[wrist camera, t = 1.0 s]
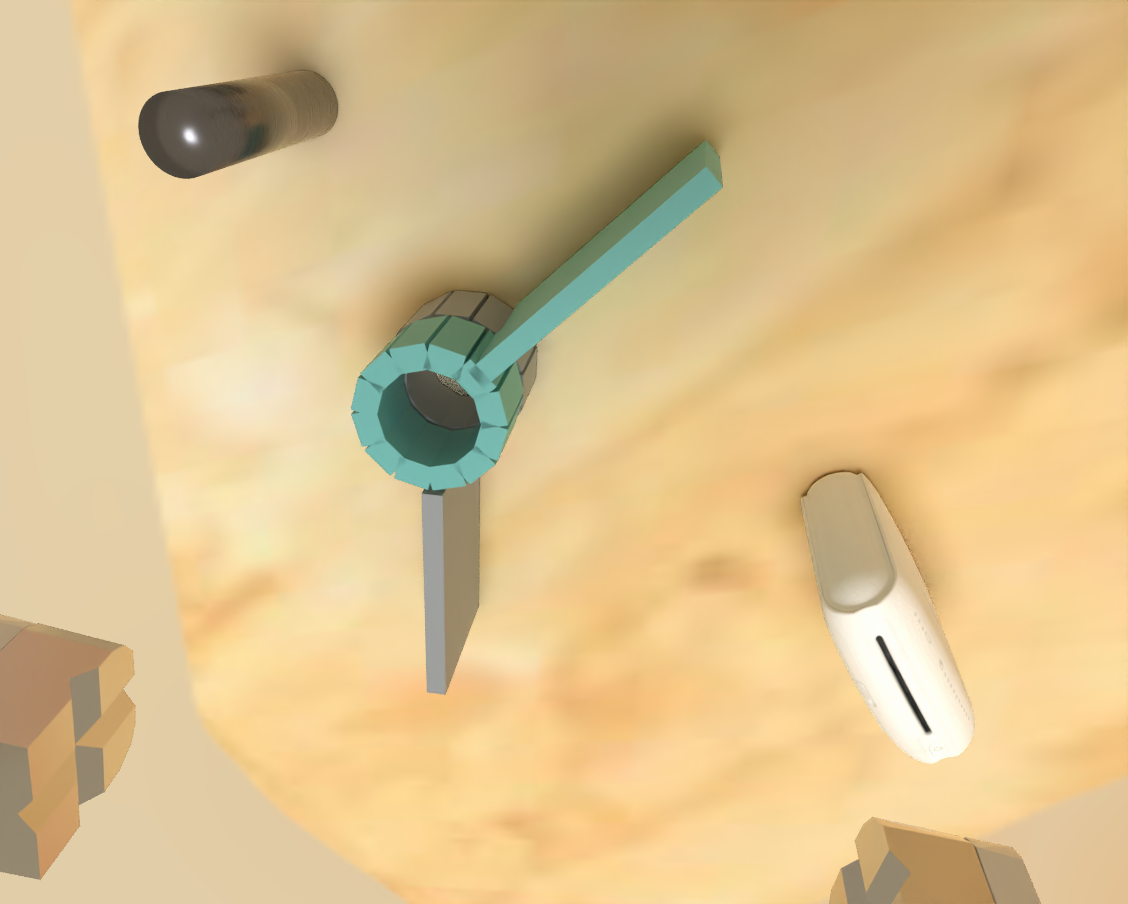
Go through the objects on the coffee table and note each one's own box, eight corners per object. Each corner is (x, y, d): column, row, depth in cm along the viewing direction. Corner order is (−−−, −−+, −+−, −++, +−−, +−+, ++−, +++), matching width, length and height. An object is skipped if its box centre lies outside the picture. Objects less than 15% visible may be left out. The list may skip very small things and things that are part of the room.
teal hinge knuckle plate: (469, 443, 50) (430, 515, 43) (377, 350, 48) (322, 409, 41) (759, 207, 42) (771, 247, 35) (663, 86, 40) (655, 103, 33)
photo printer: (938, 604, 51) (1003, 770, 40) (864, 630, 52) (907, 797, 41) (865, 456, 47) (914, 592, 36) (788, 488, 49) (812, 628, 38)
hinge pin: (274, 68, 43) (132, 88, 32) (335, 72, 43) (212, 93, 32) (280, 135, 44) (145, 175, 34) (339, 139, 44) (222, 181, 33)
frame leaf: (404, 285, 47) (350, 336, 40) (538, 297, 46) (508, 350, 39) (414, 597, 55) (372, 684, 48) (527, 611, 55) (501, 702, 48)
